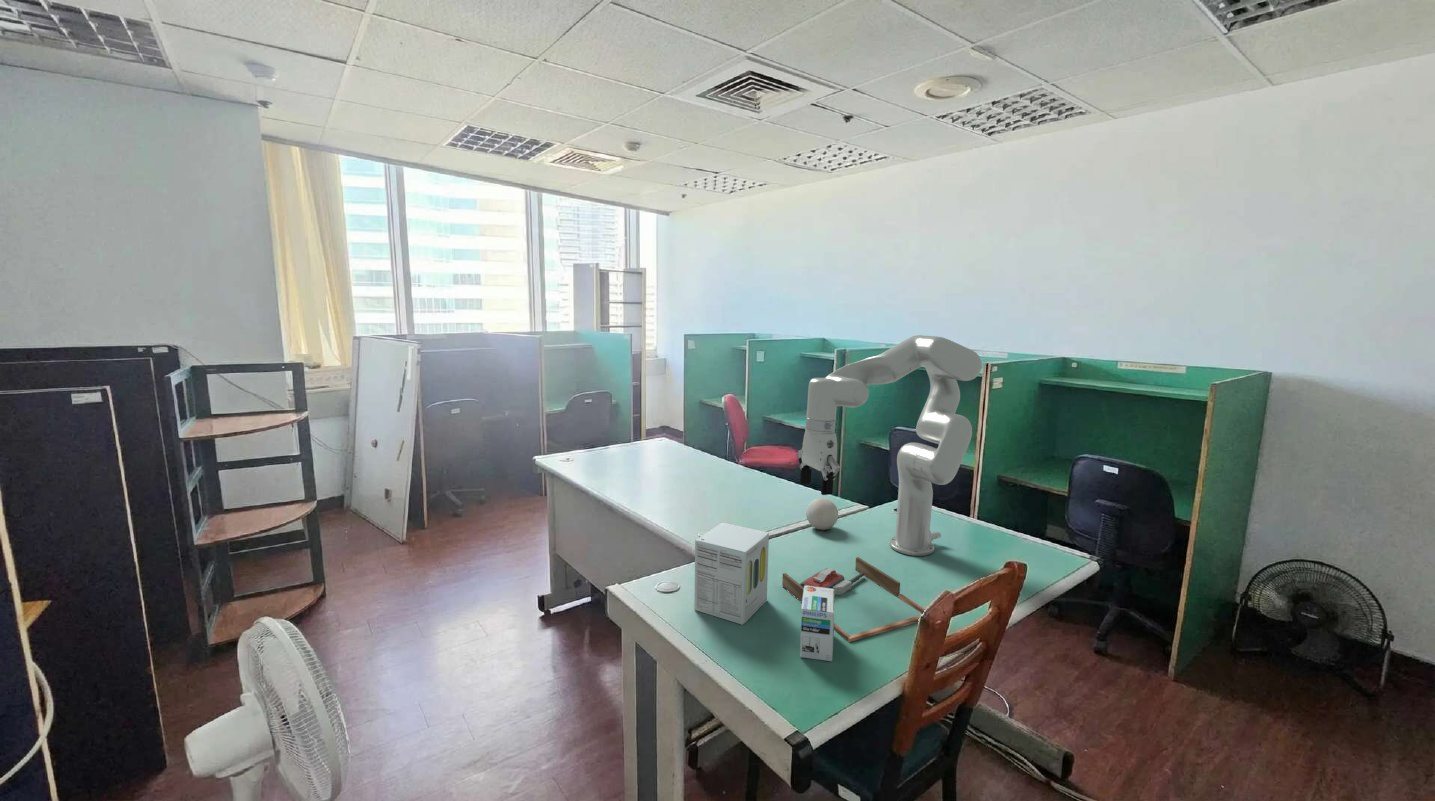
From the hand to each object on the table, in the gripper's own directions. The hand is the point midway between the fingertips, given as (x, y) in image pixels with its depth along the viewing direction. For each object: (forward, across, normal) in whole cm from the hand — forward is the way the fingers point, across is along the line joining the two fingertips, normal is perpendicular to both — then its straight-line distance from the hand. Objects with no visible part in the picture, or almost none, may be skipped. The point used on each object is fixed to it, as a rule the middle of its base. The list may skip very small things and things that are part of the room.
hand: (815, 488), depth 154 cm
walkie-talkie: (+23, -10, 0) cm, 25 cm away
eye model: (+22, +23, -20) cm, 38 cm away
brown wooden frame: (+23, -19, 0) cm, 30 cm away
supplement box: (+24, -8, +28) cm, 38 cm away
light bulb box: (+24, -30, +19) cm, 43 cm away
